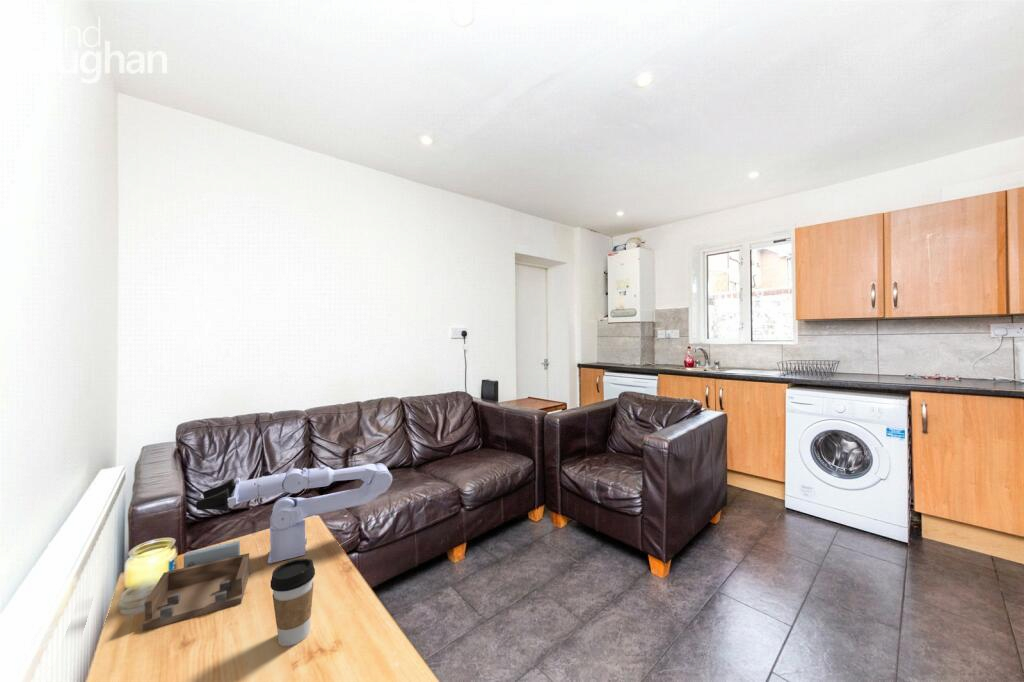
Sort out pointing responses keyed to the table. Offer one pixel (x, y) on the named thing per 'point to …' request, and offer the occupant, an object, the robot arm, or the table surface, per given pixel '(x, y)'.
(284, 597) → the coffee cup
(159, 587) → the cabinet
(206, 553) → the door
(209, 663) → the table surface
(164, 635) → the table surface
